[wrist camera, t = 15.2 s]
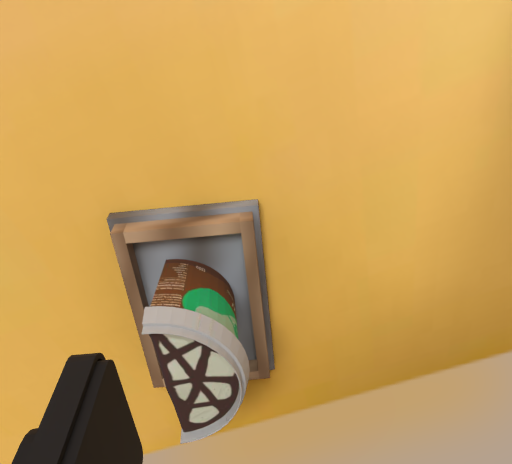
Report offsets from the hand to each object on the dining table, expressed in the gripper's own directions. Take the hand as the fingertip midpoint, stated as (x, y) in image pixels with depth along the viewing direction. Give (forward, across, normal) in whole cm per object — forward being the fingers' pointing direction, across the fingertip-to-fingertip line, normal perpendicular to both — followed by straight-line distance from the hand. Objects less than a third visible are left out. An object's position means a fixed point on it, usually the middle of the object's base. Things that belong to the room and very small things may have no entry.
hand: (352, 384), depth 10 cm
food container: (+27, +7, +19) cm, 34 cm away
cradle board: (+28, +8, +19) cm, 35 cm away
